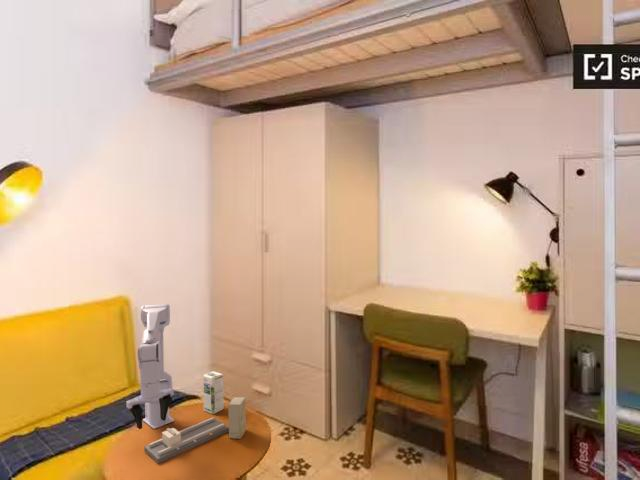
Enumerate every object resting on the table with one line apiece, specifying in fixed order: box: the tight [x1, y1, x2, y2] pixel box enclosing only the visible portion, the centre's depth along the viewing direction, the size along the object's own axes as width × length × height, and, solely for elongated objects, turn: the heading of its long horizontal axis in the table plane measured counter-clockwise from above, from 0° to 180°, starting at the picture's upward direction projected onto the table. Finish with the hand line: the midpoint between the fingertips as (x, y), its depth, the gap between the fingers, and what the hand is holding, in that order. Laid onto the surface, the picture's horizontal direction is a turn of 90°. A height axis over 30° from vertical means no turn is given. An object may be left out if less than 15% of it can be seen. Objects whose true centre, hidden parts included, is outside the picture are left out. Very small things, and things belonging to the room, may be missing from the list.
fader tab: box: [161, 427, 181, 447], centre depth 137 cm, size 5×4×4 cm
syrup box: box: [202, 370, 225, 415], centre depth 163 cm, size 6×6×14 cm
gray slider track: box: [143, 416, 229, 464], centre depth 142 cm, size 10×26×2 cm, turn 136°
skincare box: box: [227, 396, 247, 440], centre depth 145 cm, size 6×4×12 cm
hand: (151, 423), depth 132 cm, fingers open, 7 cm apart
